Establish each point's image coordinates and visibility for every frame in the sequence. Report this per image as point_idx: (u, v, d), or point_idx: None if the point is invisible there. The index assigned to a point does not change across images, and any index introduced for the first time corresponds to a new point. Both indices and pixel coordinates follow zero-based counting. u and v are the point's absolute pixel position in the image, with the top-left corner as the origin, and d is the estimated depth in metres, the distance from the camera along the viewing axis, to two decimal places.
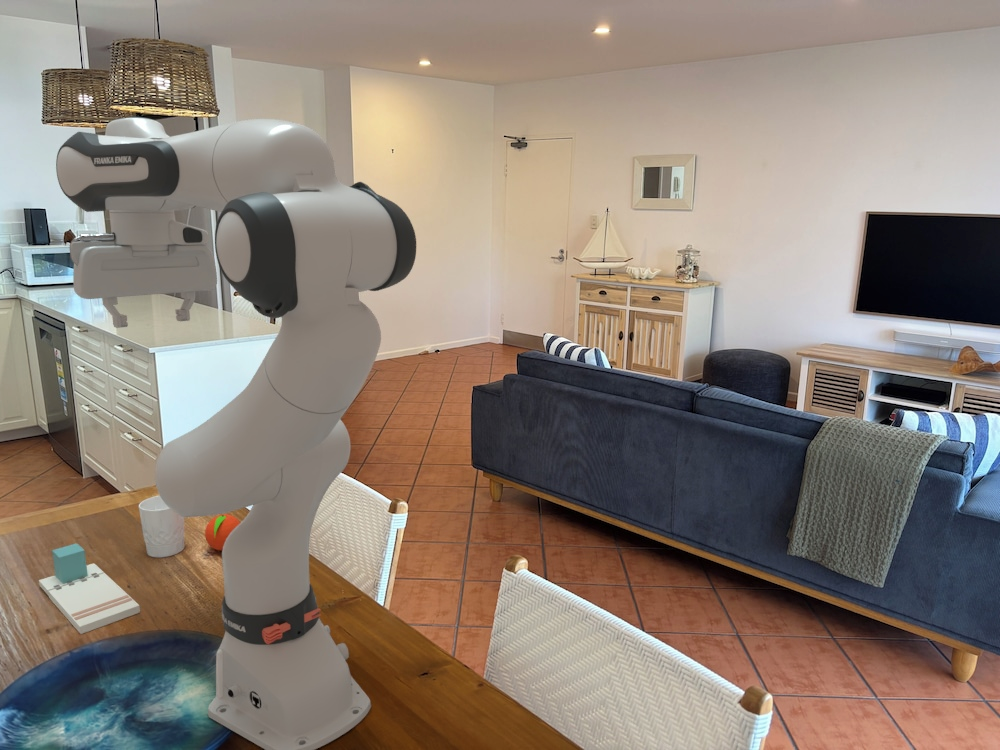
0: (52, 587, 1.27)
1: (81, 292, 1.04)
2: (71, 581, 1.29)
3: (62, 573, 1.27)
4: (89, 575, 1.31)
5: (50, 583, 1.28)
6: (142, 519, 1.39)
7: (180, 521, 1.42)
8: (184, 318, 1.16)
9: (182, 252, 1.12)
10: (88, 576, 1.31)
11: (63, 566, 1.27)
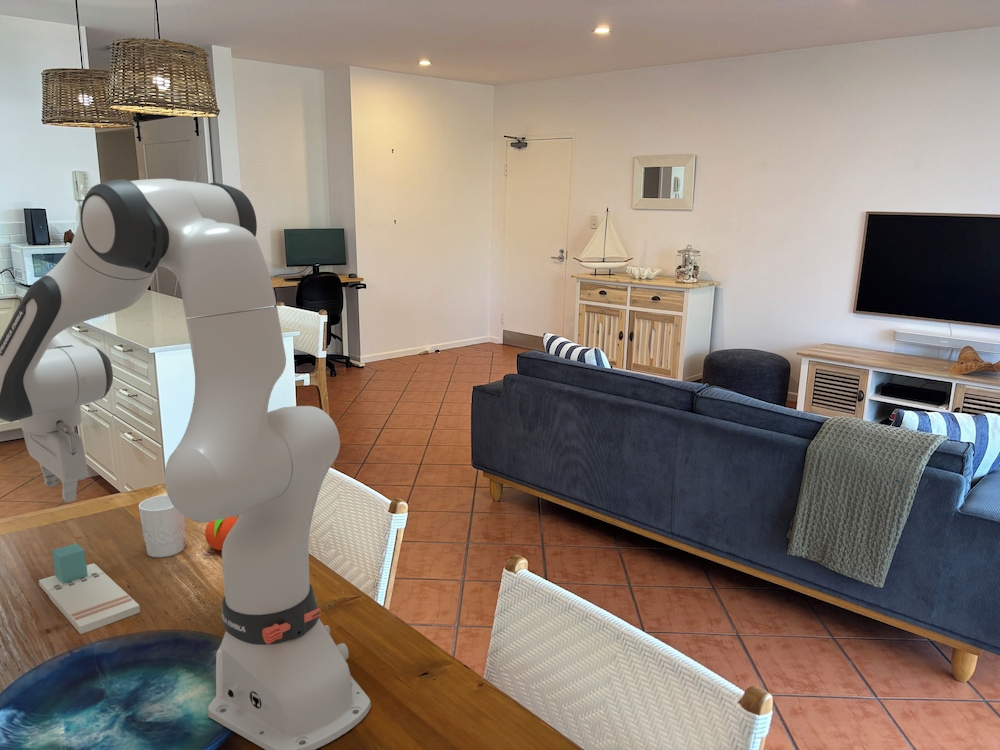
0: (52, 587, 1.27)
1: (86, 473, 1.20)
2: (71, 581, 1.29)
3: (62, 573, 1.27)
4: (89, 575, 1.31)
5: (50, 583, 1.28)
6: (142, 519, 1.39)
7: (180, 521, 1.42)
8: None
9: None
10: (88, 576, 1.31)
11: (63, 566, 1.27)
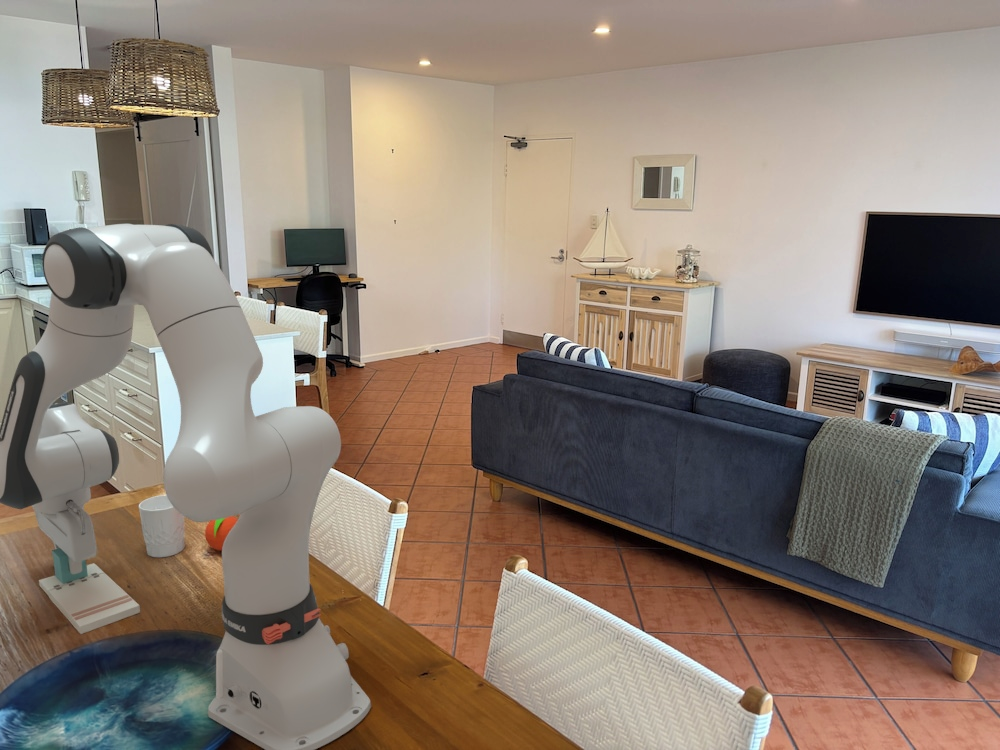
0: (52, 587, 1.27)
1: (96, 552, 1.23)
2: (71, 581, 1.29)
3: (62, 573, 1.27)
4: (89, 575, 1.31)
5: (50, 583, 1.28)
6: (142, 519, 1.39)
7: (180, 521, 1.42)
8: None
9: None
10: (88, 576, 1.31)
11: (63, 566, 1.27)
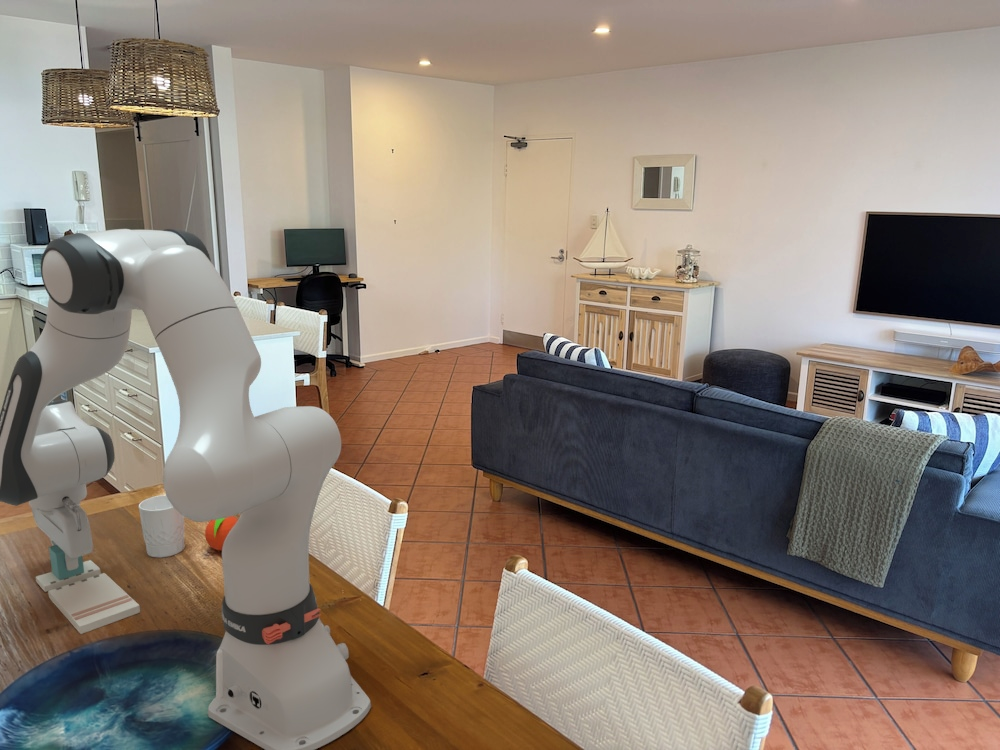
0: (49, 583, 1.28)
1: (92, 548, 1.25)
2: (67, 577, 1.30)
3: (59, 569, 1.29)
4: (85, 572, 1.32)
5: (47, 579, 1.29)
6: (142, 519, 1.39)
7: (180, 521, 1.42)
8: None
9: None
10: (84, 573, 1.32)
11: (59, 563, 1.29)
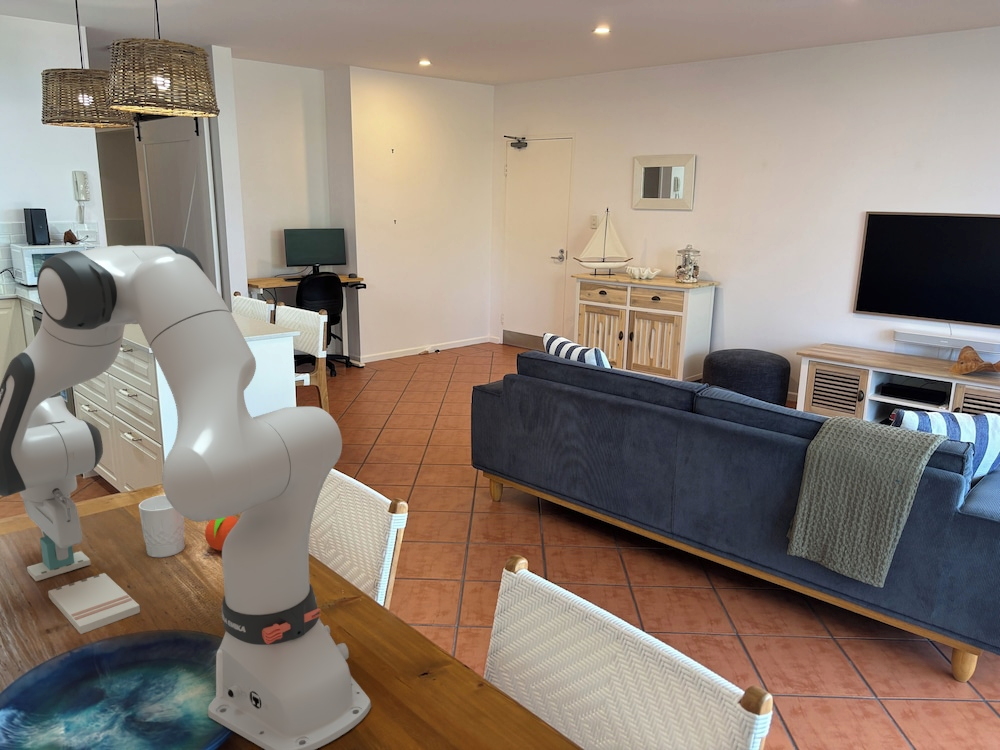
0: (39, 573, 1.31)
1: (81, 538, 1.28)
2: (58, 567, 1.33)
3: (49, 560, 1.32)
4: (76, 562, 1.36)
5: (38, 569, 1.33)
6: (142, 519, 1.39)
7: (180, 521, 1.42)
8: None
9: None
10: (75, 563, 1.35)
11: (50, 553, 1.32)
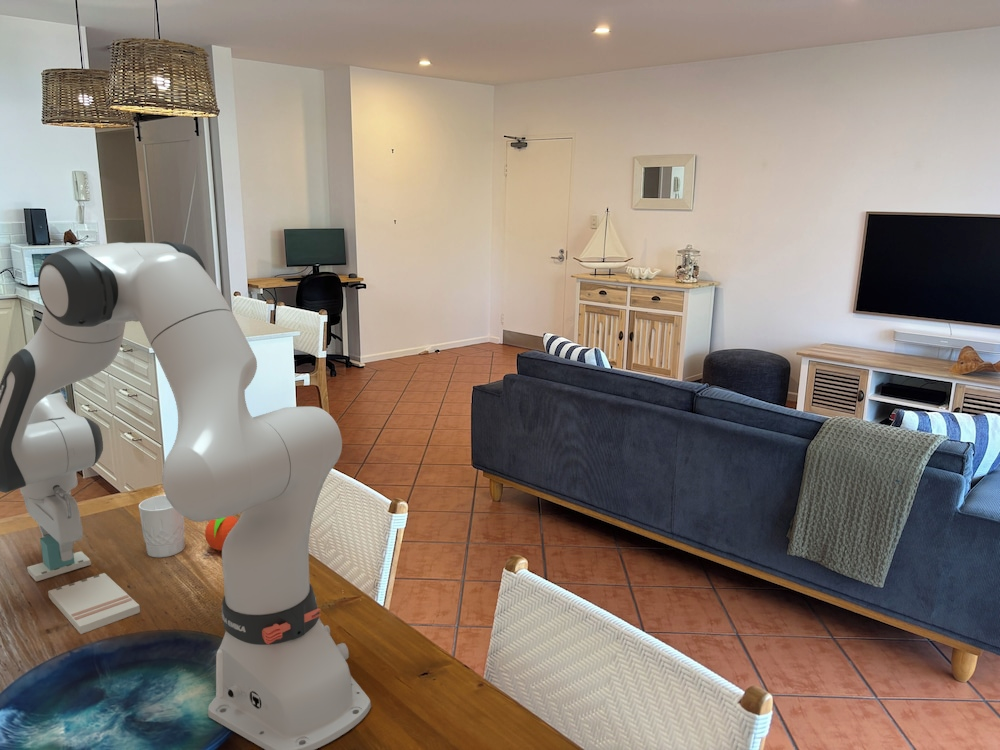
0: (40, 573, 1.31)
1: (82, 535, 1.28)
2: (58, 567, 1.33)
3: (49, 560, 1.32)
4: (76, 562, 1.36)
5: (38, 570, 1.33)
6: (142, 519, 1.39)
7: (180, 521, 1.42)
8: None
9: None
10: (75, 563, 1.35)
11: (50, 553, 1.32)
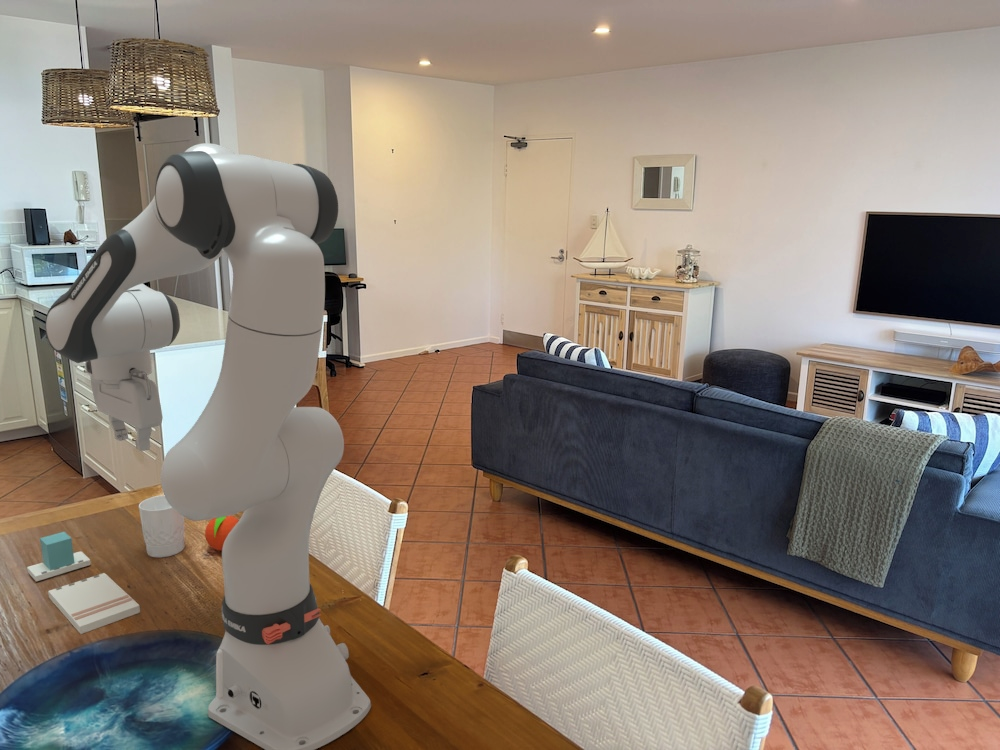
0: (40, 573, 1.31)
1: None
2: (58, 567, 1.33)
3: (49, 560, 1.32)
4: (76, 562, 1.36)
5: (38, 570, 1.33)
6: (142, 519, 1.39)
7: (180, 521, 1.42)
8: None
9: None
10: (75, 563, 1.35)
11: (50, 553, 1.32)
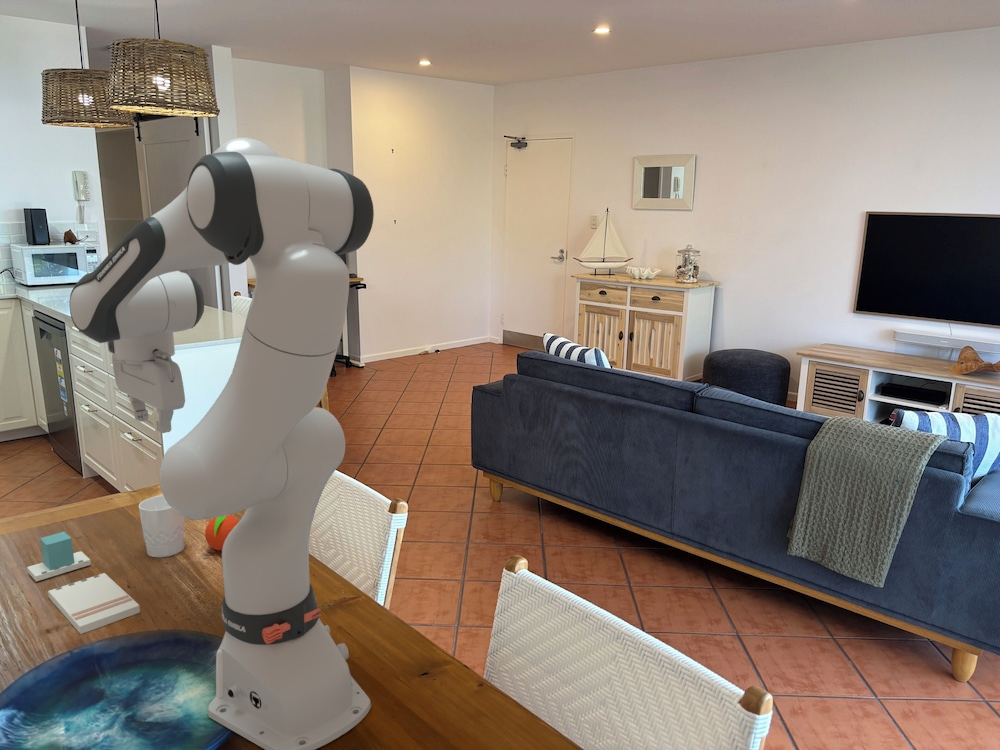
0: (40, 573, 1.31)
1: (184, 402, 1.18)
2: (58, 567, 1.33)
3: (49, 560, 1.32)
4: (76, 562, 1.36)
5: (38, 570, 1.33)
6: (142, 519, 1.39)
7: (180, 521, 1.42)
8: None
9: None
10: (75, 563, 1.35)
11: (50, 553, 1.32)
